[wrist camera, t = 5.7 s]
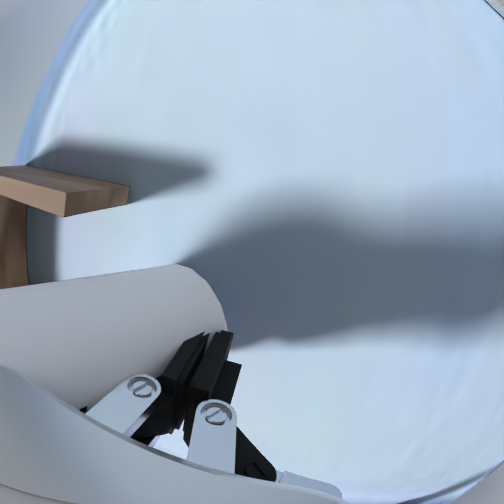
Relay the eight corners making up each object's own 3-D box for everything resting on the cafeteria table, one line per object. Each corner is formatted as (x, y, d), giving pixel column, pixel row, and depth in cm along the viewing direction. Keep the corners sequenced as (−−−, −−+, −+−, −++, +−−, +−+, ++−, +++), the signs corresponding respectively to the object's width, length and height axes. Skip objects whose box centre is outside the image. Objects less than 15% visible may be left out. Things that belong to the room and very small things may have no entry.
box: (24, 165, 14) (-26, 169, 9) (130, 186, 14) (66, 192, 9) (23, 294, 17) (-16, 316, 12) (117, 349, 16) (77, 390, 12)
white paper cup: (158, 361, 16) (18, 417, 7) (139, 256, 15) (-26, 286, 7) (243, 391, 12) (61, 505, 4) (227, 253, 11) (-41, 309, 3)
